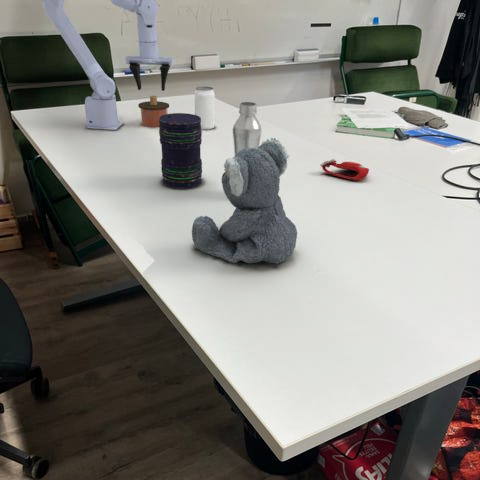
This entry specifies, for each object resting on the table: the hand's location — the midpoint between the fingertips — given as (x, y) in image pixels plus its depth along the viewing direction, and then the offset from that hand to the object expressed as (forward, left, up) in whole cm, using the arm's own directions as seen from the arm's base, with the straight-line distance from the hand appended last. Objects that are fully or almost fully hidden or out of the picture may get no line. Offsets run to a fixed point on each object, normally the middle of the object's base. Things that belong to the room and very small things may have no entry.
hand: (151, 89), depth 155 cm
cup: (+1, -1, -10) cm, 10 cm away
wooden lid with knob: (+1, -1, -5) cm, 5 cm away
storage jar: (+21, -52, -11) cm, 57 cm away
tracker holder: (+61, -38, -11) cm, 73 cm away
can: (+18, -1, -11) cm, 21 cm away
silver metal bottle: (+37, -57, -11) cm, 68 cm away
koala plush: (+41, -84, -11) cm, 94 cm away
